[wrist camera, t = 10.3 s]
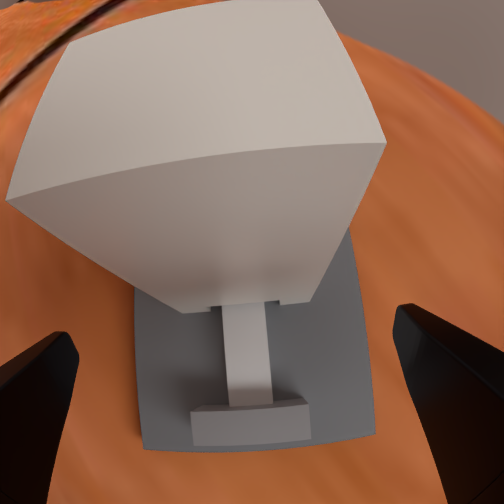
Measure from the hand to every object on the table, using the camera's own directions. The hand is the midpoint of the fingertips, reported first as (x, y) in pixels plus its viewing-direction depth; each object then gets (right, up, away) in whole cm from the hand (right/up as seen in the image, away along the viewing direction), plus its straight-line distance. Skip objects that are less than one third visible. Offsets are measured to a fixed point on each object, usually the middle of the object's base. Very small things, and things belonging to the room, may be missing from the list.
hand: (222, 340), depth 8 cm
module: (0, +2, +9) cm, 9 cm away
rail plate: (0, +1, +10) cm, 10 cm away
